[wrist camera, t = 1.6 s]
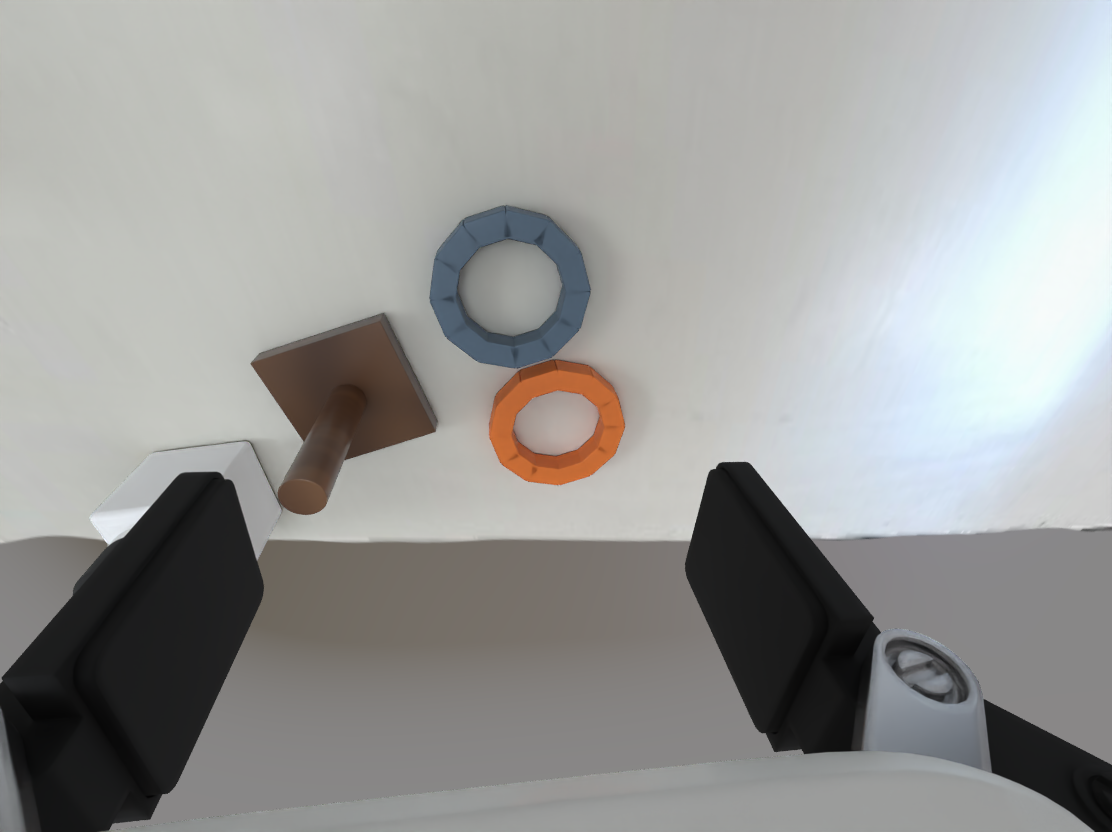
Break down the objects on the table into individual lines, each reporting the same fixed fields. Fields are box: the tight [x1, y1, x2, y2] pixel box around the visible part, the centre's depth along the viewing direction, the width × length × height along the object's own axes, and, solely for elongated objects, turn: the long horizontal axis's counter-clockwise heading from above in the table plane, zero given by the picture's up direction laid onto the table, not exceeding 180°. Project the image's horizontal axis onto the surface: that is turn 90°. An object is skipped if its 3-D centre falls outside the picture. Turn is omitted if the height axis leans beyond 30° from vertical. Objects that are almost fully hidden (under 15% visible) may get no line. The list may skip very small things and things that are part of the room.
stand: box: [251, 313, 437, 515], centre depth 31 cm, size 9×9×12 cm
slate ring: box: [430, 205, 591, 368], centre depth 33 cm, size 10×10×2 cm
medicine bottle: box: [73, 441, 281, 595], centre depth 34 cm, size 7×7×12 cm
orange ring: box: [489, 360, 625, 485], centre depth 39 cm, size 10×10×2 cm
